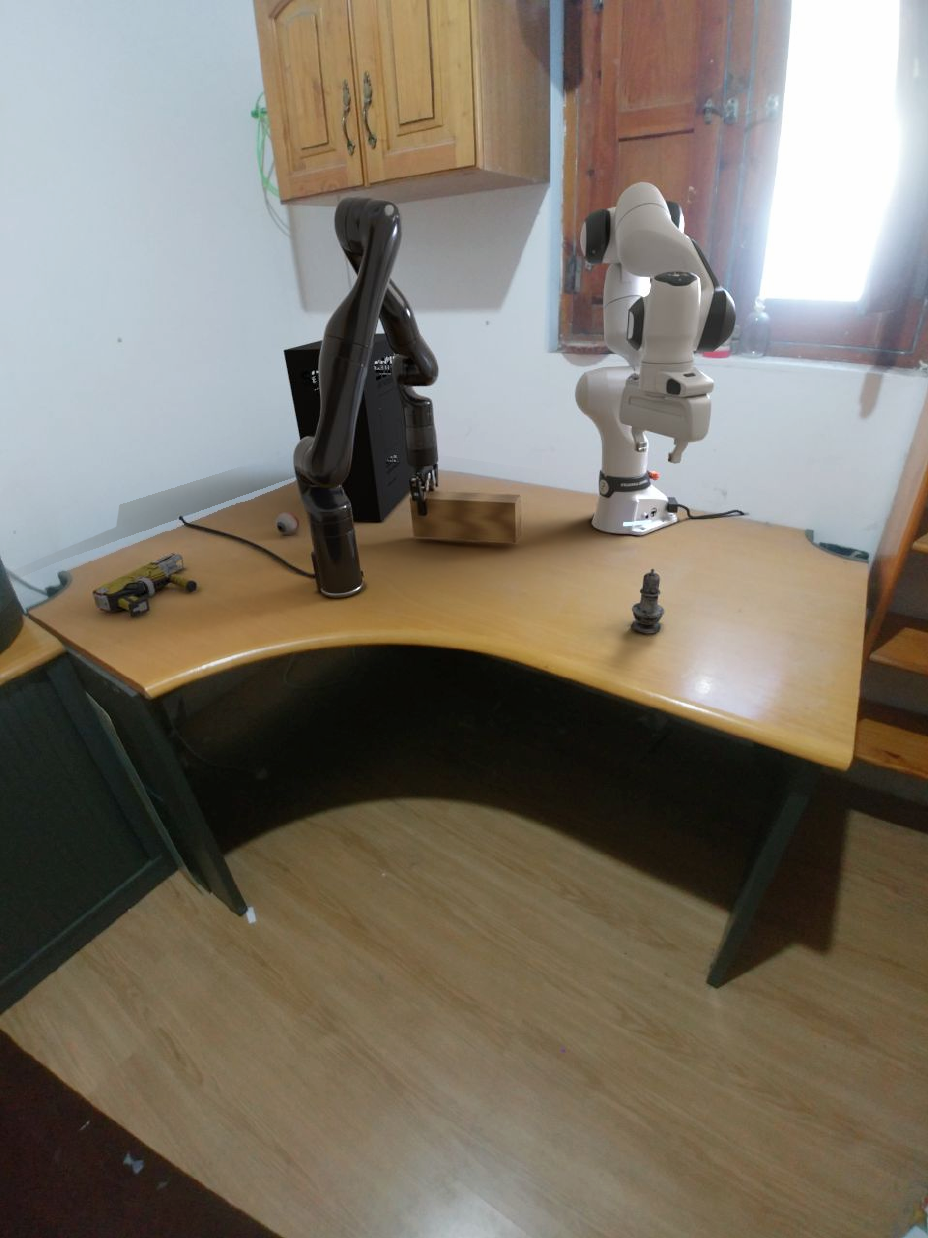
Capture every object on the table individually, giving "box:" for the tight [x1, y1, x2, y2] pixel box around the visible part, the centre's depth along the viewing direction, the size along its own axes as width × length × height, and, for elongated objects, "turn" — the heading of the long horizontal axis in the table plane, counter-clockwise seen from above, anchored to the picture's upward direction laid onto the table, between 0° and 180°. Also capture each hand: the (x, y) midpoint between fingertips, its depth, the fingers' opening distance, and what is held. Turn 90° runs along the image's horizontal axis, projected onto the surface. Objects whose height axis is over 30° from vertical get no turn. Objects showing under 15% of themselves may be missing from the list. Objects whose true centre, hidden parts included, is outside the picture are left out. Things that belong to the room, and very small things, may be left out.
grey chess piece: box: [631, 568, 665, 634], centre depth 111 cm, size 6×6×12 cm
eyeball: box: [275, 511, 300, 536], centre depth 163 cm, size 6×6×6 cm
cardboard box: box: [283, 332, 414, 523], centre depth 176 cm, size 38×20×45 cm, turn 167°
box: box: [408, 490, 522, 544], centre depth 150 cm, size 27×6×10 cm, turn 72°
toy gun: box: [92, 552, 198, 618], centre depth 136 cm, size 5×24×15 cm
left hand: (427, 510), depth 152 cm, fingers closed on box, 6 cm apart
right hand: (656, 456), depth 113 cm, fingers open, 8 cm apart
